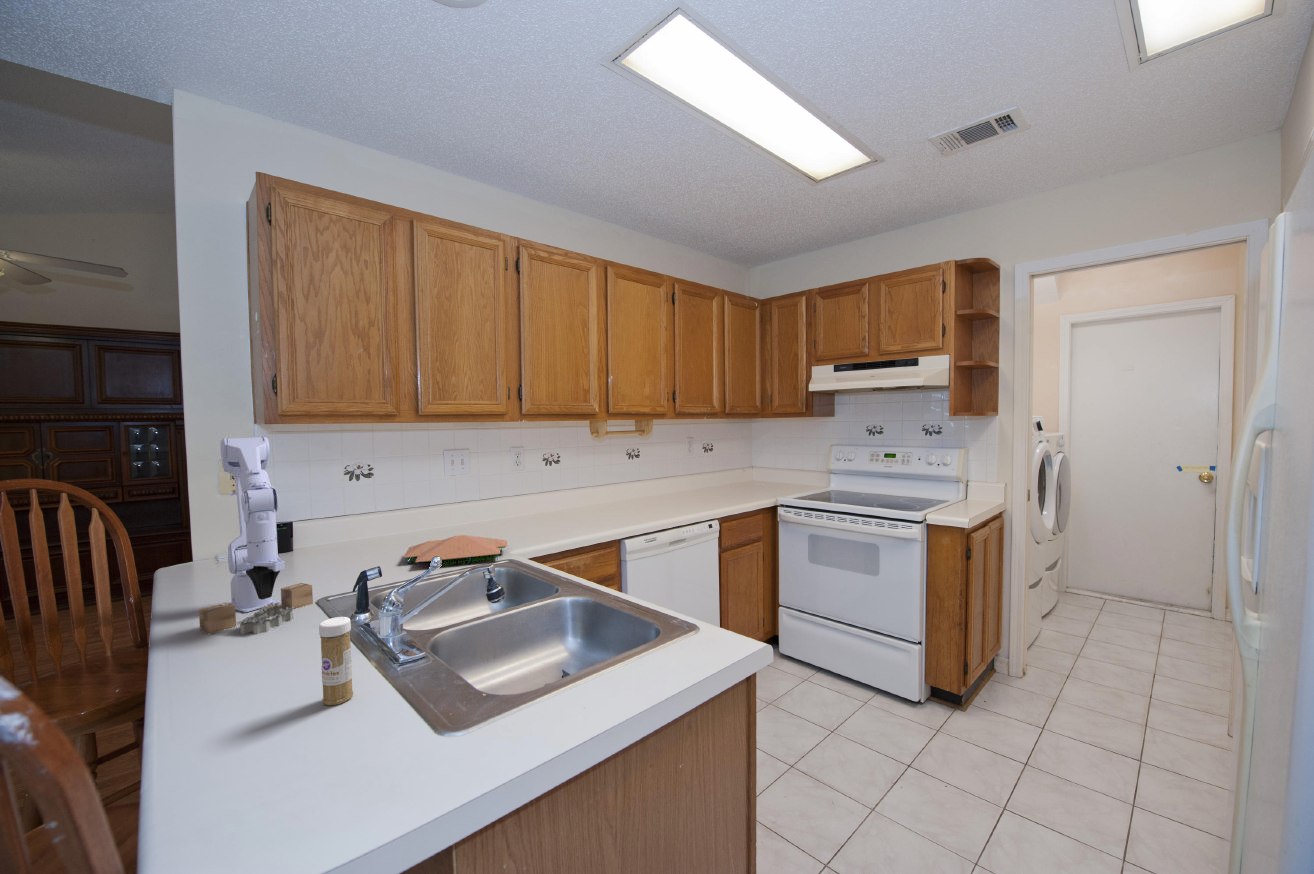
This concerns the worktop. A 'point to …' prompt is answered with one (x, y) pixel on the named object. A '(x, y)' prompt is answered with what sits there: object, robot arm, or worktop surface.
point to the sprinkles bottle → (336, 660)
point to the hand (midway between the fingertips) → (265, 597)
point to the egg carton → (266, 619)
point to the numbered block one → (296, 595)
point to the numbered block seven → (217, 618)
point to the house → (456, 548)
